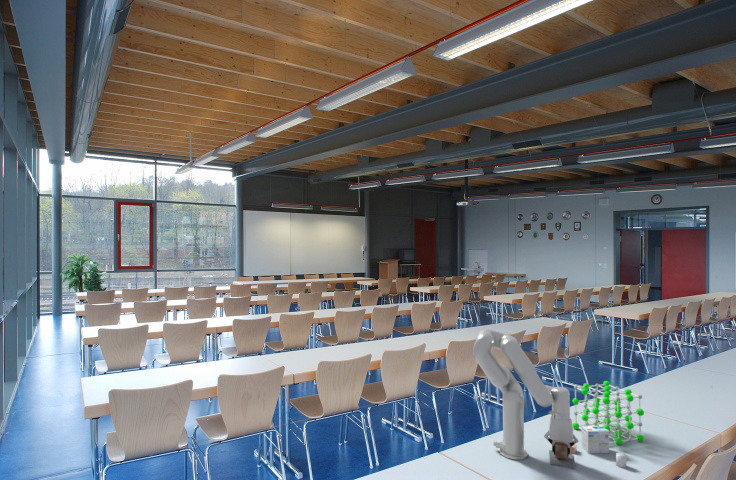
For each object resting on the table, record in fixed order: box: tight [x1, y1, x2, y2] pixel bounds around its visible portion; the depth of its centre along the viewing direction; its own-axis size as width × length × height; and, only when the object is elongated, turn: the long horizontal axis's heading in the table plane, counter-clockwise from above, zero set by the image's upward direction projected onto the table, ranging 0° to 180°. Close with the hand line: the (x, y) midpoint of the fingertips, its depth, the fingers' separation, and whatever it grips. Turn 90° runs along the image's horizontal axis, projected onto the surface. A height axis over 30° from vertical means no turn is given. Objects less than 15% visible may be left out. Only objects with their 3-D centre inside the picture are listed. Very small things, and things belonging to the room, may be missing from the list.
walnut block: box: [555, 441, 567, 459], centre depth 206 cm, size 5×5×6 cm
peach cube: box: [570, 444, 578, 454], centre depth 214 cm, size 4×4×3 cm
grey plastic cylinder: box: [615, 452, 627, 469], centre depth 200 cm, size 4×4×5 cm
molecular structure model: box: [571, 380, 645, 446], centre depth 233 cm, size 24×25×24 cm
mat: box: [548, 449, 575, 470], centre depth 205 cm, size 10×14×1 cm
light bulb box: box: [580, 425, 610, 454], centre depth 215 cm, size 11×7×11 cm, turn 92°
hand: (561, 454), depth 206 cm, fingers closed on walnut block, 4 cm apart
